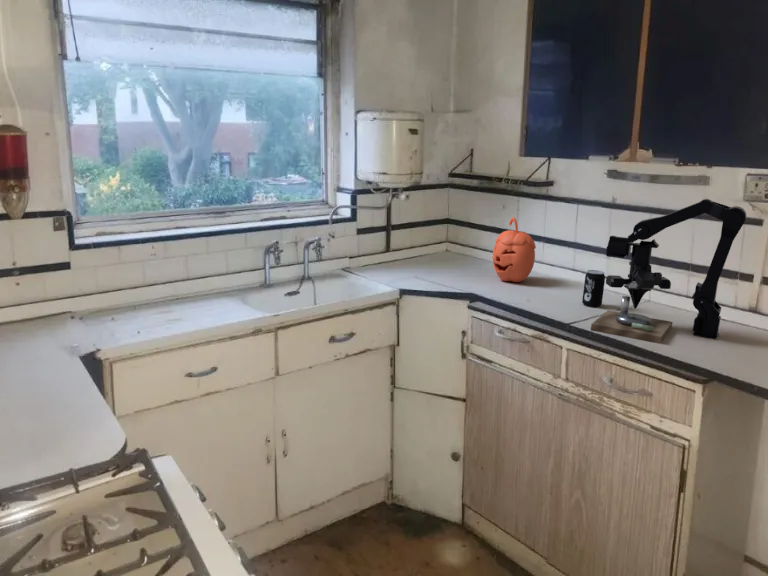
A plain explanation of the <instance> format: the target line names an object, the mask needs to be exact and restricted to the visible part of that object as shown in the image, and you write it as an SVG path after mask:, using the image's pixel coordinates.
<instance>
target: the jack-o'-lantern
mask: <svg viewBox="0 0 768 576" xmlns="http://www.w3.org/2000/svg"><path fill="white" fill-rule="evenodd" d="M512 223H514V226H515V228H514V229H515V230H511V229H508V230H504V231H502V232H500V234H499V235H498V236H497V237H496V239H495V244H494V246H493V247H494V248H493V251H492V256H491V257H492V264H493V268H494V271H495V273H496V275H497V277H498V278H499V279H500V280H502V281H504V282H514V283H519V282H522V281H524V280H526V278H527V277H529V275H530V274H531V272H532V271H533V269H534V268H533V267H534V264H535V261H536V260H535V259H536V251H535V249H537V248H536V247H537V246H536V243H535V240H534V239H533V238H532V236H531V235H529V234H528V233H526V231H522V230H521V231H520V230H519V229H518V228H519V227H518V221H517V219H516V217H514V216H512V218H510V220H509V223H508V224H509V226H512V225H513V224H512ZM518 230H519V231H518Z"/></svg>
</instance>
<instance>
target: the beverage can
mask: <svg viewBox="0 0 768 576" xmlns="http://www.w3.org/2000/svg"><path fill="white" fill-rule="evenodd" d="M605 284H606V276H605V272H604V271H602V270H596V269H590V270H589V269H588V270H587V271H586V273H585V276H584V285H583V291H582V292H583V293H582V305H583V306H585V307H588V308H600V307H601V306H602V305H603V299H604V298H603V297H604V291H605Z"/></svg>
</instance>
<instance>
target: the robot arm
mask: <svg viewBox="0 0 768 576" xmlns="http://www.w3.org/2000/svg"><path fill="white" fill-rule="evenodd" d="M703 214H706V215H709V216H711V217H713V218H715V219H718V220H721V221H722V224H721V225H722V226H721V232H720V237H719V241H718V244H717V246H716V247H715V248H716V249H715V250H714V253H713V258H712V259H711V262H710V265H709V268H708V269H707V273H706V276H705V279H704V280H703V282H702V283H700V282H699V281H697V283H696V285H695V289H694V292H693V294H692V296H691V299H692V305H693V307H694V308H695V310H697V312H698V313H697V315H696V317H694V319H693V320H694V321H693V326H692V333H693V336H696V337H697V336H698V337H702V338H709V339H713V340H714V339H715V340H716V339H717V338H718V337H719V330H720V329H719V328H720V323H721V319H722V318H721V317H722V316H721V315H720V314H721V312H722V311H721V310H722V307H721V305H720V304H719V303H718V302H717V300H716V298H717V292H718V286H719V285H718V284H719V279H720V278H721V275H722V272H723V270H724V267H725V263H726V262H727V259H728V257H729V253H730V251H731V248H732V245H733V242H734V240H735V238H736V237H737V236H738V233H740V231H741V229H742V227H743V225H744V223H746V220H747V212H746V210H745V209H744V208H743V207H741V206H737V205H735V206H730V205H729V206H728V205H725V204H722V203H719V202H716V201H713V200H711V199H709V198H704V199H702V200H700V201H699V202H695V203H693V204H691V205H689V206H685V207H683V208H681V209H678V210H675V211H672V212H671V213H668V214H665V215H661V216H657V217H652V218H646V219H642V220H640V221H638V222H637V223H635V225H634V227H633V230H632V233H630V234H629V235H628V236H627V237H623V236H616V235H610V236H609V238H608V239H609V240H608V243H607V246H606V250H605V254H606V257H607V258H617V259H624V260H625V259H626V258H627V257H629V256H630V255H631V258H630V261H629V262H628V264H629V266H630V267H629V273H628V274H627V278H625V277H622V276H621V275H612V274H609V275H607V276H606V277H605V284H606V285H607V286H608V287H611V288H618V289H619V288H620V289H621V288H622V287H624V288H626V289H627V291H628V294H629V297H630V300H631V302H632V305H633V306H632V307H633V308H634V309H635V310H636V309H637V308H638V306H639V304H640V302H641V301H642V298H643V297H644V295H645V294H646V293H647V292H651V291H652V289H654V288H655V286H658V288H659V289H662V290H670V289H671V286H672V282H671V280H670V279H669V278H667V277H665V276H663V274H662V272H657V271H656V272H652V265H651V258H652V250H653V249H658V247H659V246H660V244H658V242H657V241H656V240H655V238H654V239H652V240H651V241H648V239H650V238H652V237H653V236H655V235H657V234H659V233H660V232H661V231H664V230H665V229H667V228H669V227H672V226H674V225H675V226H676V225H677V224H680V223H682V222H685V221H688V220H690V219H693V218H696V217H698V216H701V215H703ZM638 240H639V241H640V242H637V241H638Z"/></svg>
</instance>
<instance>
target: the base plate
mask: <svg viewBox="0 0 768 576" xmlns="http://www.w3.org/2000/svg"><path fill="white" fill-rule="evenodd" d="M618 313H620V311H613V310H606V311H605V312H603V314H602V315H600V316H599V317H598V318H596V320H594V321H593V322H592V323H591V326H590V331H593V332H594V331H595V332H597V333H599V332H600V333H603V334H610V335H615V336H620V337H625V338H630V339H635V340H640V341H645V342H650V343H656V344H661V343H662V341H663V340H664V339H665V338H666V336H667V335H668V333H669V332H670V331H671V329H672V328H673V321H670V320H664V319H658V318H654V317H653V318H652V317H649V318H650V319H651V322H650V325H649V326H648V325H643V324H637V323H632V326H629V325H625V324H622V323H619V322H617V321H616V315H617V314H618Z"/></svg>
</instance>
